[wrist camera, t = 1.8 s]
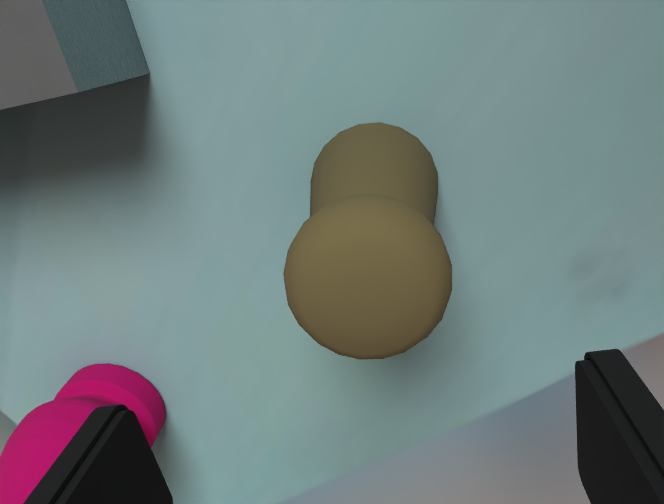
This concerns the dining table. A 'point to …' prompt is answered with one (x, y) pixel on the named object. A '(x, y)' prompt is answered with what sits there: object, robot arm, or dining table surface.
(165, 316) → the dining table surface
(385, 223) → the cork
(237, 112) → the dining table surface
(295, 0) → the dining table surface
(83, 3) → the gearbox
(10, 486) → the pepper mill
